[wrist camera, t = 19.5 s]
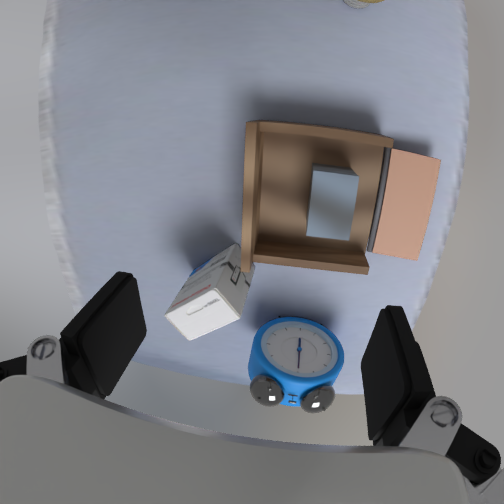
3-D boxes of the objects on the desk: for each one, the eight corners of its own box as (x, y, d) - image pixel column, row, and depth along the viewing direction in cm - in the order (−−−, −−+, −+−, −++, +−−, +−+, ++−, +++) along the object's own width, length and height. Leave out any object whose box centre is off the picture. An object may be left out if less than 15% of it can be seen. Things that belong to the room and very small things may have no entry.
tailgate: (385, 147, 30) (440, 160, 29) (384, 146, 31) (438, 159, 29) (366, 251, 36) (417, 260, 35) (366, 248, 37) (415, 257, 35)
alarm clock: (341, 322, 45) (349, 399, 32) (330, 349, 48) (332, 423, 34) (260, 307, 46) (243, 383, 33) (254, 335, 49) (237, 409, 35)
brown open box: (258, 119, 33) (246, 122, 26) (381, 134, 32) (403, 142, 24) (252, 239, 41) (240, 271, 33) (361, 252, 39) (372, 286, 31)
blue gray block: (311, 162, 33) (313, 170, 28) (351, 167, 32) (359, 176, 28) (305, 219, 36) (306, 235, 32) (343, 223, 36) (348, 240, 31)
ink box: (212, 292, 46) (188, 344, 36) (192, 268, 44) (161, 316, 34) (257, 267, 43) (242, 320, 32) (236, 240, 41) (214, 287, 31)
